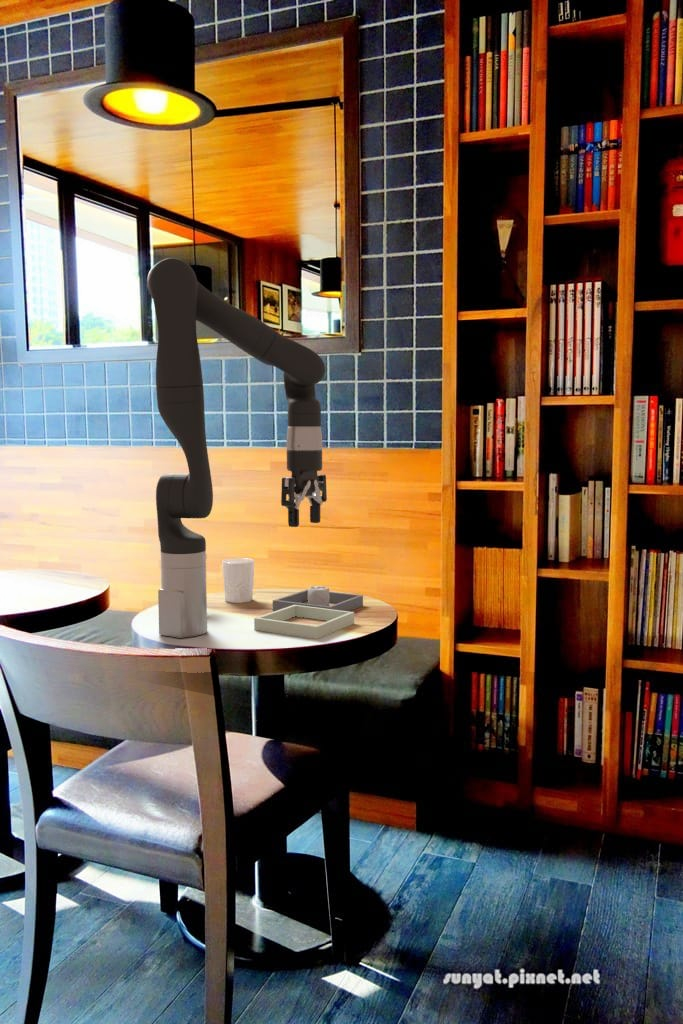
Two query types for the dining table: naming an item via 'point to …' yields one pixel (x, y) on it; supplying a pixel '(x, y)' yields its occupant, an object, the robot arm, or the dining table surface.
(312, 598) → the die
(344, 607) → the gray frame
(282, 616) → the sage frame
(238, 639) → the dining table surface
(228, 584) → the white cup
